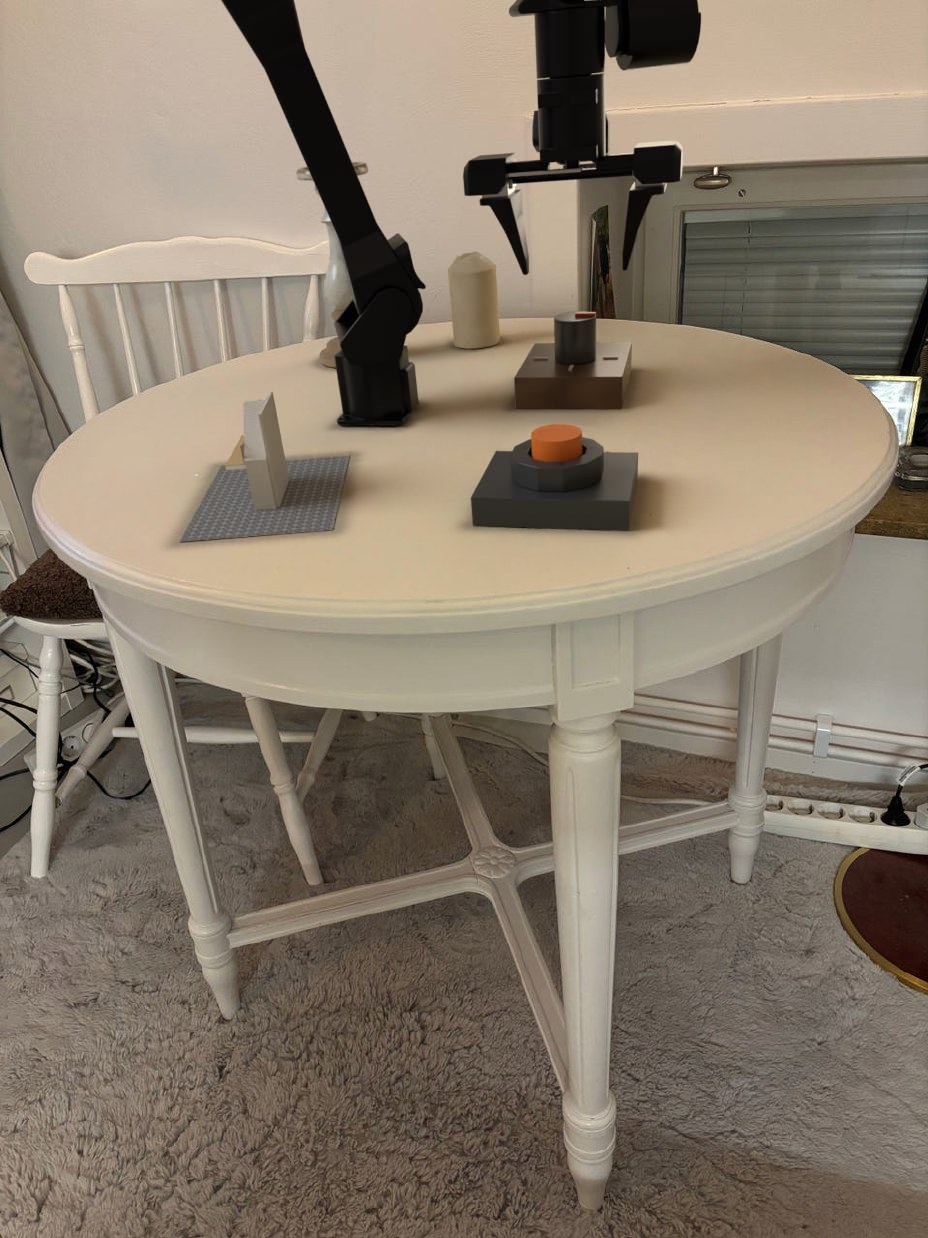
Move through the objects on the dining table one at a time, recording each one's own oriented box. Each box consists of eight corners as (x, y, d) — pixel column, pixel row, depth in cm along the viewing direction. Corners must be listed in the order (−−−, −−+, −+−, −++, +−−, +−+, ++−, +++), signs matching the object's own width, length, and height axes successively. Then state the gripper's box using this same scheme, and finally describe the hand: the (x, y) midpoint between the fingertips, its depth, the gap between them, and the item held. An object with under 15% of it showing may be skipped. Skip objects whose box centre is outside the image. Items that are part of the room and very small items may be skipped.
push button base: (472, 525, 64) (468, 473, 62) (497, 476, 72) (494, 428, 70) (628, 530, 62) (630, 476, 60) (637, 479, 69) (638, 429, 67)
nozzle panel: (515, 408, 86) (513, 375, 84) (535, 371, 96) (534, 341, 94) (621, 408, 83) (622, 374, 82) (631, 370, 93) (631, 339, 92)
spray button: (528, 464, 64) (527, 441, 63) (536, 446, 67) (535, 423, 66) (579, 465, 63) (578, 441, 62) (585, 446, 66) (584, 423, 65)
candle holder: (391, 366, 102) (367, 165, 91) (314, 371, 102) (282, 173, 92) (398, 345, 109) (377, 158, 99) (326, 351, 110) (298, 165, 99)
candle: (500, 347, 105) (495, 256, 100) (453, 350, 105) (446, 259, 100) (499, 335, 110) (494, 247, 105) (454, 338, 110) (447, 251, 105)
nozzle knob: (552, 364, 87) (551, 318, 85) (557, 352, 90) (557, 308, 88) (593, 363, 86) (593, 317, 84) (598, 352, 89) (598, 307, 87)
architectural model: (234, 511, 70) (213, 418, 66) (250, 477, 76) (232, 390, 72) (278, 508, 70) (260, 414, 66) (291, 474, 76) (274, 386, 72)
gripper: (687, 63, 80) (681, 250, 88) (482, 83, 85) (494, 259, 93) (684, 65, 71) (676, 274, 79) (454, 88, 75) (469, 283, 83)
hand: (575, 271), depth 84 cm, fingers open, 9 cm apart
